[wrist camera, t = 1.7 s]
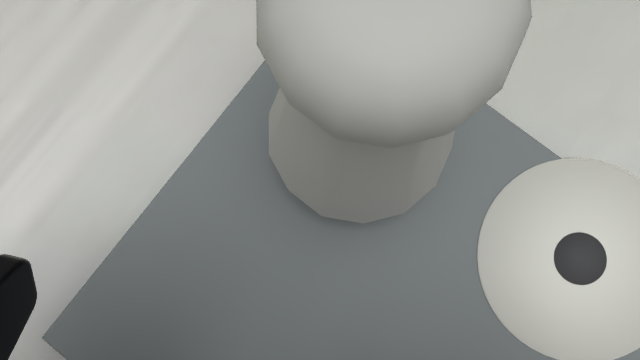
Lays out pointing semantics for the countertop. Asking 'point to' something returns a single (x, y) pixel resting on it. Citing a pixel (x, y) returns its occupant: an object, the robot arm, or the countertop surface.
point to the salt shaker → (379, 93)
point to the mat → (370, 260)
